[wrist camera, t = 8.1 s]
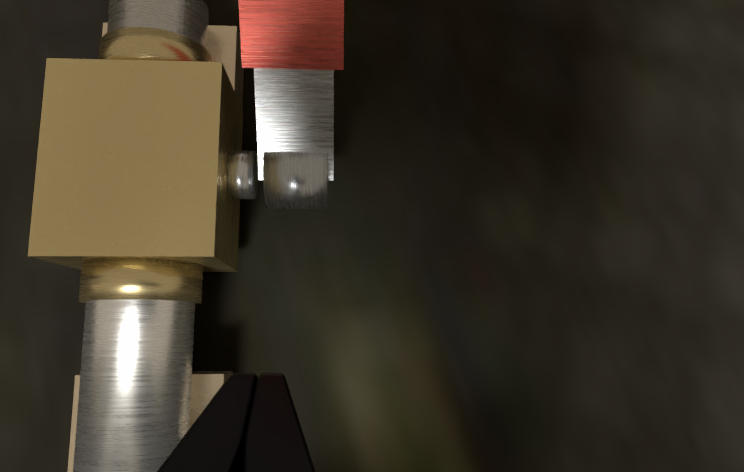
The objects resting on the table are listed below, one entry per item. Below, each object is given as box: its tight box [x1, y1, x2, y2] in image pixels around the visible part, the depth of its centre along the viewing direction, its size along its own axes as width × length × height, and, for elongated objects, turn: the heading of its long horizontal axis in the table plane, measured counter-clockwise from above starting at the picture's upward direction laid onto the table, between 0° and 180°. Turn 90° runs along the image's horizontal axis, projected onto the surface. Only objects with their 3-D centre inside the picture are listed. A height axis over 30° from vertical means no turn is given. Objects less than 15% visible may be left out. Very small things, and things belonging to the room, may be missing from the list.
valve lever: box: [238, 0, 344, 209], centre depth 17 cm, size 2×3×13 cm
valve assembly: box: [28, 0, 258, 472], centre depth 19 cm, size 16×6×5 cm, turn 0°
